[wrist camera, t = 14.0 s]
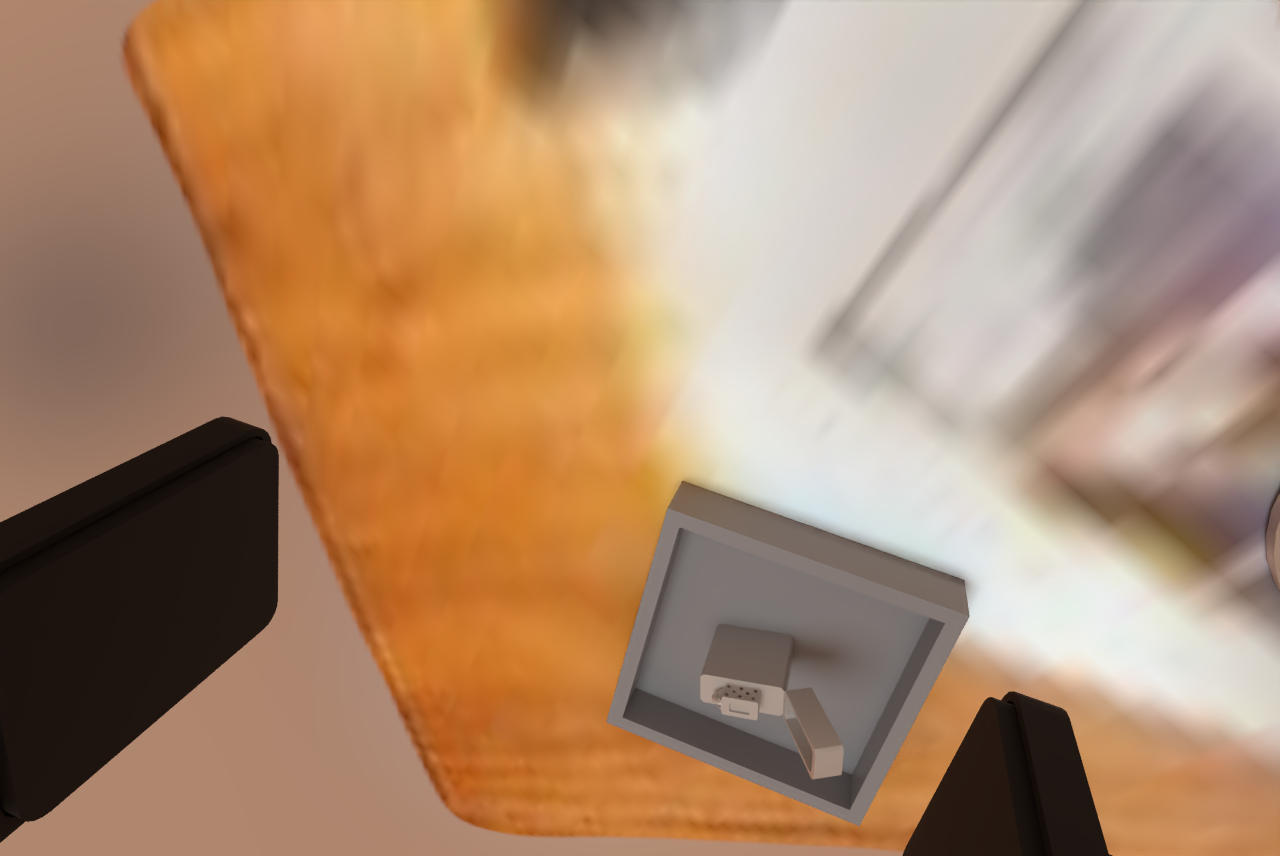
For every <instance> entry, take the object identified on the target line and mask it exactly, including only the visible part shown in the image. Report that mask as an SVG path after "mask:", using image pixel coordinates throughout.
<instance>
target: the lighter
mask: <svg viewBox="0 0 1280 856" xmlns="http://www.w3.org/2000/svg"><path fill="white" fill-rule="evenodd" d="M793 646H794V637H793V636H792V635H791V634H784V633H778V632H771V631H765V630H759V629H752V628H746V627H740V626H733V625H727V624H719V625H718V626H717V628H716V631H715V634H714V637H713V640H712V643H711V646H710V649H709V652H708V655H707V658H706V661H705V664H704V667H703V671H702V674H701V677H700V699H701V700H702V701H703V702H706V703H711V704H717V706H718V707H719V708H720V709H721V712H722V714H724V715H729V716H735V717H740V718H745V719H751V720H757V719H758V714H759V712H760V713H766V714H771V715H777V716H780V715H782V714H783V719H784V721H785V723H786V725H787V728H788V730H789V732H790V734H791V736H792V738H793V740H794V743H795V745H796V747H797V749H798V751H799V753H800V755H801V758H802V760H803V762H804V764H805V766H806V768H807V770H808V773H809V775H810V777H811V779H818V778H825V777H831V776H838V775H842V765H843V755H844V749H843V745H842V743H841V741H840V739H839V737H838V735H837V734H836V732H835V730H834V728H833V726H832V724H831V723H830V721H829V719H828V717H827V715H826V713H825V711H824V710H823V708H822V706H821V704H820V702H819V700H818V698H817V697H816V695H815V693H814V691H813V689H812V687H809V688H802V689H795V690H787V688H788V683H789V677H790V671H791V666H792V660H793Z"/></svg>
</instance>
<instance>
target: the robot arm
mask: <svg viewBox="0 0 1280 856" xmlns="http://www.w3.org/2000/svg"><path fill="white" fill-rule="evenodd" d="M278 480H279V455H278V450H277V448H276V446H274V445H273V444H272V443H271V438H270V436H269V434H268V433H267V432H266V431H265V430H263V429H261V428H258V427H255V426H252V425H250V424H247V423H244V422H241V421H238V420H235V419H232V418H230V417H220V418H216V419H214V420H212V421H209V422H207V423H205V424H203V425H201V426H199V427H197V428H195V429H193V430H191V431H189V432H187V433H185V434H183V435H180V436H178V437H176V438H174V439H172V440H170V441H168V442H166V443H164V444H162V445H160V446H158V447H156V448H154V449H151V450H149V451H147V452H145V453H143V454H141V455H139V456H137V457H135V458H133V459H131V460H129V461H127V462H124V463H122V464H120V465H118V466H116V467H114V468H112V469H110V470H108V471H106V472H104V473H102V474H100V475H98V476H95V477H94V478H91V479H89V480H87V481H85V482H83V483H81V484H79V485H77V486H75V487H73V488H71V489H69V490H66V491H65V492H62V493H60V494H58V495H56V496H54V497H52V498H50V499H48V500H46V501H44V502H42V503H40V504H37V505H35V506H33V507H31V508H29V509H28V510H25V511H23V512H21V513H19V514H17V515H15V516H13V517H10V518H9V519H7V520H4V521H2V522H0V842H2V841H3V840H4V839H5V838H6V837H8V836H9V835H10V834H11V833H12V832H14V831H15V830H16V829H17V828H18V827H19V826H21V825H22V824H23V823H24V822H25V821H27V822H29V821H35V820H37V819H39V818H41V817H43V816H45V815H46V814H48V813H49V812H50V811H52V810H53V809H54V808H55V807H56V806H58V805H59V804H60V803H61V802H62V801H63V800H64V799H65V798H67V797H68V796H69V795H70V794H71V793H73V792H74V791H75V790H76V789H77V788H79V787H80V786H81V785H82V784H83V783H84V782H86V781H87V780H88V779H89V778H90V777H91V776H92V775H94V774H95V773H96V772H97V771H98V770H100V769H101V768H102V767H103V766H104V765H105V764H107V763H108V762H109V761H110V760H111V759H112V758H114V756H116V755H117V754H118V753H119V752H121V751H122V750H123V749H124V748H125V747H126V746H128V745H129V744H130V743H131V742H132V741H133V740H135V739H136V738H137V737H138V736H139V735H140V734H142V733H143V732H144V731H145V730H146V729H147V728H149V727H150V726H151V725H152V724H153V723H154V722H156V721H157V720H158V719H159V718H160V717H161V716H163V715H164V714H165V713H166V712H167V711H169V709H171V708H172V707H173V706H174V705H175V704H177V703H178V702H179V701H180V700H181V699H183V698H184V697H185V696H186V695H187V694H188V693H189V692H191V691H192V690H193V689H194V688H195V687H197V686H198V685H199V684H200V683H201V682H202V681H204V680H205V679H206V678H207V677H208V676H209V675H210V674H212V673H213V672H214V671H215V670H216V669H218V668H219V667H220V666H221V665H222V664H223V663H225V662H226V661H227V660H228V659H229V658H230V657H232V656H233V655H234V654H235V653H236V652H237V651H238V650H240V649H241V648H242V647H243V646H244V645H246V644H247V643H248V642H249V641H250V640H251V639H253V638H254V637H255V636H256V635H257V634H258V633H260V632H261V631H262V630H263V629H264V628H265V627H266V626H267V625H268V624H269V622H270V621H271V619H272V617H273V615H274V613H275V611H276V608H277V603H278V485H279V483H278V482H279V481H278ZM1266 545H1267V561H1268V564H1269V567H1270V570H1271V573H1272V576H1273V579H1274V582H1275V584H1276V586H1277V587H1278V589H1279V590H1280V493H1279V495H1278V497H1277V499H1276V502H1275V504H1274V506H1273V508H1272V510H1271V514H1270V519H1269V524H1268V529H1267V533H1266ZM903 856H1112V855H1109V854H1108V850H1107V847H1106V843H1105V840H1104V836H1103V833H1102V829H1101V826H1100V822H1099V819H1098V815H1097V812H1096V808H1095V805H1094V801H1093V798H1092V795H1091V791H1090V788H1089V784H1088V781H1087V777H1086V774H1085V770H1084V767H1083V763H1082V760H1081V756H1080V753H1079V749H1078V746H1077V742H1076V739H1075V736H1074V732H1073V729H1072V725H1071V722H1070V718H1069V716H1068V714H1067V712H1066V711H1065V710H1064V709H1062V708H1060V707H1057V706H1054V705H1051V704H1048V703H1045V702H1043V701H1040V700H1037V699H1034V698H1031V697H1028V696H1025V695H1023V694H1020V693H1017V692H1014V691H1013V692H1008V693H1007V694H1006V695H1005V696H1004V697H1003V699H1002V700H998V699H995V698H992V697H989V698H987V699H986V700H985V701H984V703H983V704H982V706H981V708H980V710H979V711H978V713H977V715H976V717H975V719H974V721H973V723H972V724H971V726H970V728H969V730H968V732H967V734H966V736H965V738H964V739H963V741H962V743H961V745H960V747H959V749H958V751H957V752H956V754H955V756H954V758H953V760H952V762H951V764H950V766H949V767H948V769H947V771H946V773H945V775H944V777H943V779H942V781H941V782H940V784H939V786H938V788H937V790H936V792H935V794H934V795H933V797H932V799H931V801H930V803H929V805H928V807H927V809H926V810H925V812H924V814H923V816H922V818H921V820H920V822H919V823H918V825H917V827H916V829H915V831H914V833H913V835H912V837H911V838H910V840H909V842H908V844H907V846H906V848H905V850H904V853H903Z"/></svg>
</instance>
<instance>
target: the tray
mask: <svg viewBox="0 0 1280 856" xmlns="http://www.w3.org/2000/svg"><path fill="white" fill-rule="evenodd" d="M968 618H969V609H968V603H967V596H966V589H965V582H964V580H962V579H959V578H956V577H953V576H950V575H947V574H944V573H942V572H939V571H936V570H933V569H930V568H927V567H924V566H922V565H919V564H916V563H913V562H910V561H907V560H905V559H902V558H899V557H896V556H893V555H890V554H887V553H885V552H882V551H879V550H876V549H873V548H870V547H868V546H865V545H862V544H859V543H856V542H853V541H850V540H848V539H845V538H842V537H839V536H836V535H833V534H830V533H828V532H825V531H822V530H819V529H816V528H813V527H811V526H808V525H805V524H802V523H799V522H796V521H793V520H791V519H788V518H785V517H782V516H779V515H776V514H773V513H771V512H768V511H765V510H762V509H759V508H756V507H754V506H751V505H748V504H745V503H742V502H739V501H736V500H734V499H731V498H728V497H725V496H722V495H719V494H716V493H714V492H711V491H708V490H705V489H702V488H699V487H697V486H694V485H691V484H688V483H685V482H682V483H681V485H680V487H679V488H678V490H677V492H676V494H675V496H674V498H673V499H672V501H671V503H670V505H669V507H668V509H667V512H666V516H665V519H664V523H663V526H662V530H661V533H660V537H659V540H658V544H657V547H656V551H655V554H654V558H653V561H652V565H651V568H650V572H649V575H648V579H647V582H646V586H645V589H644V593H643V596H642V600H641V603H640V607H639V610H638V614H637V617H636V620H635V624H634V627H633V631H632V634H631V638H630V641H629V645H628V648H627V652H626V655H625V659H624V662H623V666H622V669H621V673H620V676H619V680H618V683H617V687H616V690H615V694H614V697H613V701H612V704H611V708H610V711H609V715H608V718H607V723H609V724H612V725H614V726H617V727H619V728H622V729H624V730H626V731H629V732H631V733H634V734H636V735H639V736H641V737H643V738H646V739H648V740H651V741H653V742H656V743H658V744H661V745H663V746H665V747H668V748H670V749H673V750H675V751H678V752H680V753H682V754H685V755H687V756H690V757H692V758H695V759H697V760H700V761H702V762H704V763H707V764H709V765H712V766H714V767H717V768H719V769H721V770H724V771H726V772H729V773H731V774H734V775H736V776H739V777H741V778H743V779H746V780H748V781H751V782H753V783H756V784H758V785H760V786H763V787H765V788H768V789H770V790H773V791H775V792H778V793H780V794H782V795H785V796H787V797H790V798H792V799H795V800H797V801H799V802H802V803H804V804H807V805H809V806H812V807H814V808H817V809H819V810H821V811H824V812H826V813H829V814H831V815H834V816H836V817H838V818H841V819H843V820H846V821H848V822H851V823H853V824H856V825H858V826H860V824H861V822H862V820H863V818H864V816H865V814H866V812H867V811H868V809H869V807H870V805H871V803H872V801H873V799H874V797H875V795H876V793H877V791H878V790H879V788H880V786H881V784H882V782H883V780H884V778H885V776H886V774H887V772H888V770H889V769H890V767H891V765H892V763H893V761H894V759H895V757H896V755H897V753H898V751H899V750H900V748H901V746H902V744H903V742H904V740H905V738H906V736H907V734H908V732H909V730H910V729H911V727H912V725H913V723H914V721H915V719H916V717H917V715H918V713H919V711H920V710H921V708H922V706H923V704H924V702H925V700H926V698H927V696H928V694H929V692H930V690H931V689H932V687H933V685H934V683H935V681H936V679H937V677H938V675H939V673H940V671H941V670H942V668H943V666H944V664H945V662H946V660H947V658H948V656H949V654H950V652H951V650H952V649H953V647H954V645H955V643H956V641H957V639H958V637H959V635H960V633H961V631H962V630H963V628H964V626H965V624H966V622H967V620H968ZM719 624H727V625H733V626H740V627H746V628H752V629H759V630H765V631H771V632H778V633H784V634H791V635H792V636H793V637H794V646H793V660H792V666H791V671H790V677H789V683H788V688H787V690H795V689H802V688H809V687H812V689H813V691H814V693H815V695H816V697H817V698H818V700H819V702H820V704H821V706H822V708H823V710H824V711H825V713H826V715H827V717H828V719H829V721H830V723H831V724H832V726H833V728H834V730H835V732H836V734H837V735H838V737H839V739H840V741H841V743H842V745H843V749H844V755H843V765H842V775H838V776H831V777H825V778H818V779H811V777H810V775H809V773H808V770H807V768H806V766H805V764H804V762H803V760H802V758H801V755H800V753H799V751H798V749H797V747H796V745H795V743H794V740H793V738H792V736H791V734H790V732H789V730H788V728H787V725H786V723H785V721H784V719H783V714H782V715H780V716H777V715H771V714H766V713H760V712H759V714H758V719H757V720H751V719H745V718H740V717H735V716H729V715H724V714H722V712H721V709H720V708H719V707H718V706H717V704H711V703H706V702H703V701H702V700H701V699H700V677H701V674H702V671H703V667H704V664H705V661H706V658H707V655H708V652H709V649H710V646H711V643H712V640H713V637H714V634H715V631H716V628H717V626H718V625H719Z"/></svg>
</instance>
